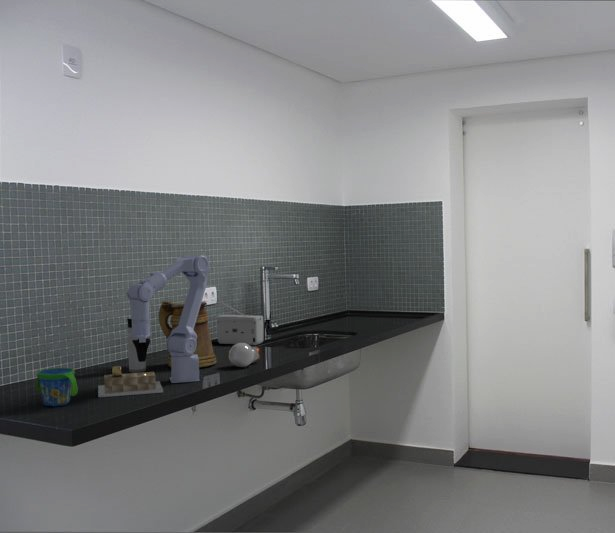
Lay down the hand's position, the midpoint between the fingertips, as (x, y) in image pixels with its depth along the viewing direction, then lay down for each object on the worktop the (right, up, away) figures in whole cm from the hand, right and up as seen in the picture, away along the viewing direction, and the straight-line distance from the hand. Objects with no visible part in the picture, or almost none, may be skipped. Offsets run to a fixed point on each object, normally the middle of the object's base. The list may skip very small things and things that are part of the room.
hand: (141, 361), depth 236 cm
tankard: (+7, -7, +44) cm, 45 cm away
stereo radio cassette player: (+23, -5, +97) cm, 99 cm away
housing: (-4, -9, -1) cm, 10 cm away
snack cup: (-21, -11, -18) cm, 30 cm away
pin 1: (-8, -5, -2) cm, 9 cm away
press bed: (-4, -9, -1) cm, 10 cm away
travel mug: (-9, -8, +33) cm, 35 cm away
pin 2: (0, -8, 0) cm, 8 cm away
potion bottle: (+30, -7, +40) cm, 51 cm away
